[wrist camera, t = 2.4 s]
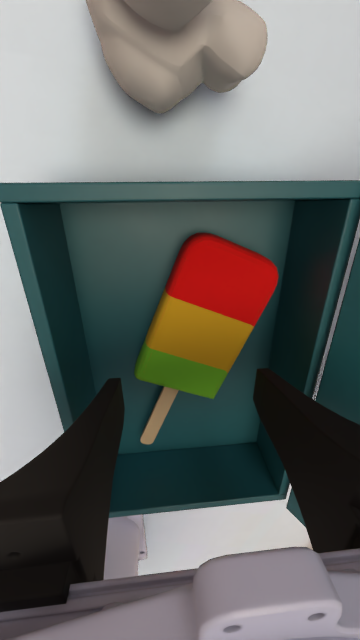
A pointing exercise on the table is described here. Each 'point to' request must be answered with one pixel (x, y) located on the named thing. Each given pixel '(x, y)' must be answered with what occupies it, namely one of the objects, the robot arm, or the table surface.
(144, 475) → the box
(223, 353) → the popsicle
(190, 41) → the beige clay figurine
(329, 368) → the lunchbox lid
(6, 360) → the table surface
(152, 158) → the table surface
